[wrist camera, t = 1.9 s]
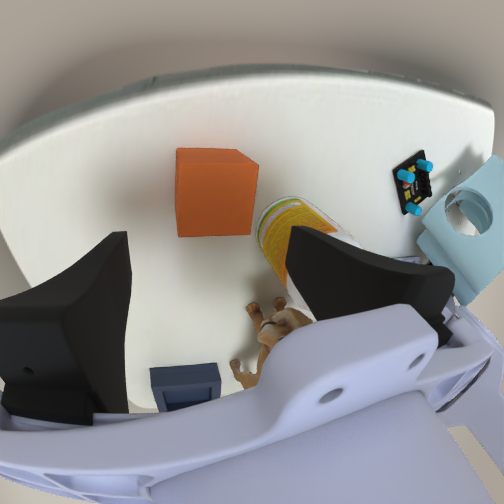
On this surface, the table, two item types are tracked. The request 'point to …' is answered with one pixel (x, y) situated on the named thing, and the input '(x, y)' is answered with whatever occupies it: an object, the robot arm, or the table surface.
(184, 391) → the blue square tray
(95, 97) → the table surface
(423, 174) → the circuit board
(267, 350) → the lion figurine
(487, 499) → the robot arm
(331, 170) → the table surface
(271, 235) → the supplement bottle
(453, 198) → the grey piece
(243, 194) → the orange rectangular block
